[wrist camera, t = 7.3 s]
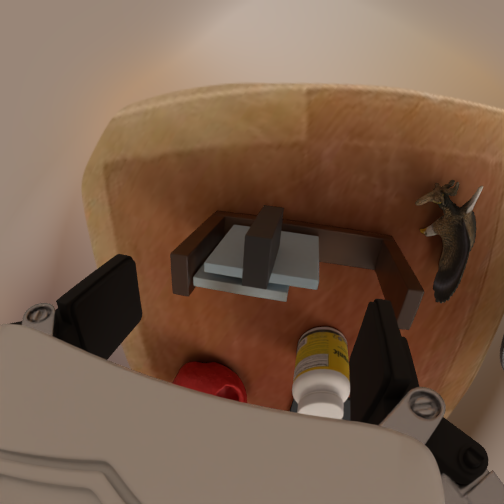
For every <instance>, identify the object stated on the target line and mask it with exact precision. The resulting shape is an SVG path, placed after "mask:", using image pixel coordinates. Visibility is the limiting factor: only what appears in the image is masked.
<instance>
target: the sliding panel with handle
mask: <svg viewBox="0 0 504 504" xmlns="http://www.w3.org/2000/svg"><path fill="white" fill-rule="evenodd" d="M283 211H284V208H281V207H274V206H266V205H264V206H263V208H262V209H261V211H260V212H259V214H258V216H257V217H256V219H255V220H254V222H253V224H252V225H251V227H248V226H241V225H233V227H232V228H231V229H230V230H229V232H228V233H227V234H226V235H225V237H224V238H223V239H222V240H221V242H220V243H219V244H218V246H217V247H216V248H215V249H214V251H213V252H212V253H211V254H210V256H209V257H208V258H207V260H206V261H205V262H204V272H209V273H215V274H220V275H226V276H232V277H238V278H242V286H247V287H253V288H259V289H265V290H266V289H267V286H268V283H276V284H282V285H289V286H295V287H302V288H308V289H315V290H317V288H318V284H319V237H318V236H312V235H305V234H298V233H292V232H285V231H281V229H282V220H283Z"/></svg>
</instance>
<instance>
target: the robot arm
mask: <svg viewBox="0 0 504 504" xmlns="http://www.w3.org/2000/svg"><path fill="white" fill-rule="evenodd" d="M56 302H57V305H58V309H56V310H55V308H54V306H53V305H51V304H48V303H41V304H36V305H34V306H32V307H30V308H29V309H28V310H27V311H26V312H25V314H24V316H23V320H22V321H21V322H16V323H11V324H2V325H0V504H504V485H503V483H502V482H501V481H500V479H499V478H498V476H497V475H496V474H495V472H494V471H493V470H492V471H491V472H489V471H488V470H487V466H488V456H487V453H486V451H485V449H484V448H483V447H482V446H481V445H480V444H479V443H477V442H476V441H475V440H473V439H472V438H471V437H469V436H468V435H466V434H465V433H464V432H463V431H461V430H460V429H458V428H457V427H456V426H454V425H453V424H452V423H450V422H449V421H448V420H446V419H445V418H444V417H443V416H444V413H445V403H444V400H443V399H442V397H441V396H440V395H439V394H438V393H437V392H436V391H434V390H432V389H430V388H426V387H419V384H418V379H417V375H416V372H415V368H414V364H413V360H412V356H411V353H410V349H409V346H408V342H407V340H406V338H405V337H401V334H400V330H399V327H398V323H397V320H396V317H395V313H394V310H393V307H392V304H391V301H389V300H383V299H375V300H374V302H369V304H368V307H367V310H366V313H365V316H364V319H363V322H362V325H361V328H360V331H359V334H358V337H357V340H356V343H355V345H354V348H353V351H352V353H351V356H350V362H349V369H350V421H349V420H342V419H336V418H328V417H320V416H313V415H307V414H301V413H295V412H289V411H283V410H278V409H272V408H267V407H262V406H257V405H252V404H248V403H243V402H239V401H235V400H230V399H226V398H222V397H218V396H215V395H211V394H207V393H203V392H200V391H196V390H193V389H189V388H186V387H182V386H179V385H176V384H173V383H169V382H166V381H163V380H160V379H157V378H154V377H151V376H148V375H145V374H143V373H140V372H137V371H134V370H132V369H129V368H126V367H124V366H121V365H118V364H116V363H113V362H111V361H108V360H107V359H108V358H109V357H110V356H111V355H112V353H113V352H114V351H115V350H116V349H117V347H118V346H119V345H120V344H121V343H122V342H123V340H124V339H125V338H126V337H127V336H128V334H129V333H130V332H131V331H132V330H133V329H134V328H135V326H136V325H137V324H138V323H139V322H140V320H141V318H142V309H141V302H140V295H139V288H138V280H137V272H136V264H135V261H134V260H133V259H132V257H131V256H127V255H122V254H118V255H116V256H115V257H113V258H112V259H110V260H109V261H108V262H106V263H105V264H103V265H102V266H101V267H99V268H98V269H97V270H95V271H94V272H93V273H91V274H90V275H89V276H87V277H86V278H85V279H84V280H82V281H81V282H80V283H78V284H77V285H76V286H74V287H73V288H72V289H70V290H69V291H68V292H67V293H65V294H64V295H63V296H62V297H60V298H59V299H58V300H57V301H56Z"/></svg>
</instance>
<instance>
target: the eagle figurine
mask: <svg viewBox="0 0 504 504" xmlns="http://www.w3.org/2000/svg"><path fill="white" fill-rule="evenodd" d="M454 182H455V180H451V181H450V182H449V184H446V185H444V186H442V187H441V186H440V185H439V183H435V188H434V189H433V191H432V192H429V193H428V194H426V195H424V196H423V197H421V198H419V199H418V200H417V201H416V202H415V204H416V205H422V204H424V203H427V202H428V201H432V202H434V203H438V205H439V207H440V208H441V209H442V210H443V213H444V215H443V216H441V217H440V218H438V219H437V220H436V221H434V223H433V224H431V225H430V226H428V227H426V228H425V229H420V232H421V233H423V234H425V235H426V236H434V235H440V236H441V238H442V242H443V251H442V255H441V258H440V261H439V270H438V272H437V274H436V277H435V280H434V284H433V290H434V291H435V292H434V296H435V298H436V302H440V303H442V302H446V300H447V301H448V300H449V299H450V296H452V295H453V293H454V292H455V291H456V288H458V285H459V284H460V281H461V278H462V276H463V272H464V270H465V267H466V264H467V260H468V257H469V252H470V251H471V248H472V247H473V244H474V243H475V237H476V234H475V233H476V219H475V215H474V212H473V211H472V210H473V207H474V205H475V203H476V201H477V199H478V197H479V195H480V193H481V191H482V189H483V186H480V187H479V188H478V190H477V191H476V193H475V194H474V195H473V196H472V198H471V199H470V200H469V201H468V202H466V203H465V204H464V205H463V206H462V207H458V206H457V205H456V204H455V203H453V202H452V201H451V200H450V198H449V196H448V195H450V196H455V195H456V194H457V190H458V188H459V182H457V183H456V185H455V187H454V188H450V187H452V186H453V184H454ZM449 188H450V189H449Z"/></svg>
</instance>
